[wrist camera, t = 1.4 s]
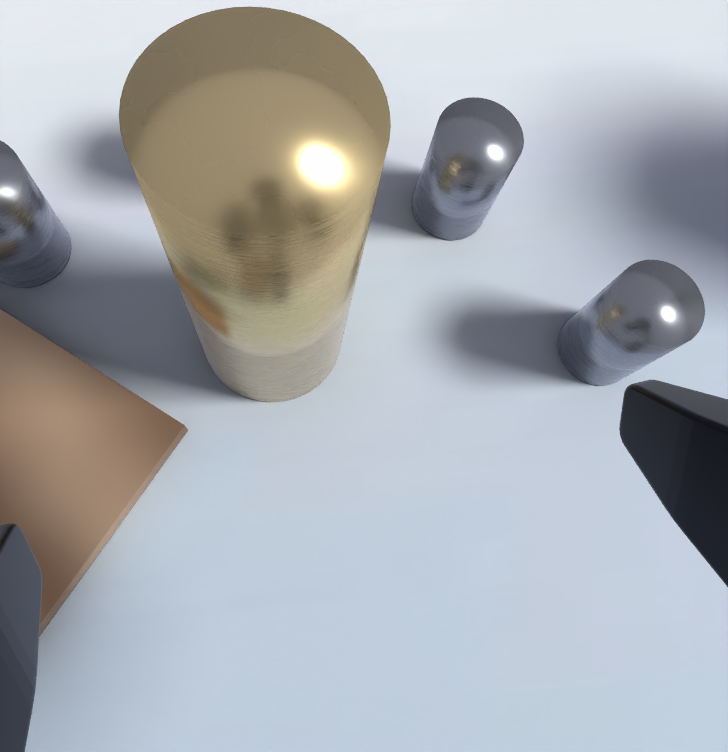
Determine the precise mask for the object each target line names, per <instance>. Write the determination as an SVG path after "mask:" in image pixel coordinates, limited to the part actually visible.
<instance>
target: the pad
mask: <svg viewBox="0 0 728 752" xmlns="http://www.w3.org/2000/svg"><path fill="white" fill-rule="evenodd" d="M187 431H188V430H187V428H186V427H185V425H183V424H182V423H180V422H178V421H177V420H175V419H174V418H172V417H171V416H169V415H167V414H166V413H164V412H163V411H161V410H159V409H158V408H156V407H155V406H153V405H152V404H150V403H148V402H147V401H145V400H144V399H142V398H140V397H139V396H137V395H136V394H134V393H133V392H131V391H129V390H128V389H126V388H125V387H123V386H121V385H120V384H118V383H117V382H115V381H114V380H112V379H110V378H109V377H107V376H106V375H104V374H102V373H101V372H99V371H98V370H96V369H95V368H93V367H91V366H90V365H88V364H87V363H85V362H84V361H82V360H80V359H79V358H77V357H76V356H74V355H72V354H71V353H69V352H68V351H66V350H65V349H63V348H61V347H60V346H58V345H57V344H55V343H53V342H52V341H50V340H49V339H47V338H46V337H44V336H42V335H41V334H39V333H38V332H36V331H34V330H33V329H31V328H30V327H28V326H27V325H25V324H23V323H22V322H20V321H19V320H17V319H15V318H14V317H12V316H11V315H9V314H8V313H6V312H4V311H3V310H1V309H0V525H4V524H9V523H14V524H16V525H18V526H19V527H20V528H21V529H22V531H23V533H24V535H25V537H26V539H27V542H28V544H29V546H30V548H31V550H32V552H33V554H34V556H35V558H36V561H37V563H38V565H39V567H40V571H41V576H42V594H41V611H40V628H39V636H40V635H41V633H42V632H43V631H44V629H45V628H46V626H47V625H48V624H49V622H50V621H51V619H52V618H53V617H54V615H55V614H56V613H57V611H58V610H59V608H60V607H61V606H62V604H63V603H64V601H65V600H66V599H67V597H68V596H69V595H70V593H71V592H72V590H73V589H74V588H75V586H76V585H77V583H78V582H79V581H80V579H81V578H82V576H83V575H84V574H85V572H86V571H87V570H88V568H89V567H90V565H91V564H92V563H93V561H94V560H95V558H96V557H97V556H98V554H99V553H100V552H101V550H102V549H103V547H104V546H105V545H106V543H107V542H108V540H109V539H110V538H111V536H112V535H113V534H114V532H115V531H116V529H117V528H118V527H119V525H120V524H121V522H122V521H123V520H124V518H125V517H126V515H127V514H128V513H129V511H130V510H131V509H132V507H133V506H134V504H135V503H136V502H137V500H138V499H139V497H140V496H141V495H142V493H143V492H144V491H145V489H146V488H147V486H148V485H149V484H150V482H151V481H152V479H153V478H154V477H155V475H156V474H157V473H158V471H159V470H160V468H161V467H162V466H163V464H164V463H165V461H166V460H167V459H168V457H169V456H170V455H171V453H172V452H173V450H174V449H175V448H176V446H177V445H178V443H179V442H180V441H181V439H182V438H183V436H184V435H185V434H186V432H187Z"/></svg>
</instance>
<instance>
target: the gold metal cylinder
mask: <svg viewBox="0 0 728 752" xmlns="http://www.w3.org/2000/svg"><path fill="white" fill-rule="evenodd" d="M119 120H120V131H121V135H122V139H123V143H124V147H125V149H126V152H127V154H128V157H129V159H130V162H131V165H132V167H133V170H134V172H135V175H136V177H137V180H138V183H139V185H140V188H141V190H142V193H143V195H144V198H145V201H146V203H147V206H148V208H149V211H150V213H151V216H152V219H153V221H154V224H155V226H156V229H157V231H158V234H159V237H160V239H161V242H162V244H163V247H164V250H165V252H166V255H167V257H168V260H169V262H170V265H171V268H172V270H173V273H174V275H175V278H176V280H177V283H178V286H179V288H180V291H181V293H182V296H183V298H184V301H185V304H186V306H187V309H188V311H189V314H190V316H191V319H192V322H193V324H194V327H195V329H196V332H197V335H198V337H199V340H200V342H201V345H202V347H203V350H204V353H205V355H206V358H207V360H208V362H209V365H210V367H211V368H212V370H213V372H214V373H215V374H216V376H217V377H218V378H219V379H220V380H221V381H222V382H223V383H224V384H225V385H226V386H227V387H229V388H230V389H231V390H233V391H234V392H236V393H238V394H240V395H242V396H245V397H247V398H250V399H254V400H258V401H265V402H280V401H287V400H291V399H294V398H297V397H300V396H302V395H304V394H306V393H308V392H310V391H311V390H313V389H314V388H315V387H317V386H318V385H319V384H320V383H321V382H322V381H323V380H324V379H325V378H326V377H327V376H328V374H329V373H330V372H331V370H332V368H333V367H334V365H335V363H336V360H337V358H338V355H339V350H340V346H341V342H342V338H343V334H344V329H345V325H346V321H347V317H348V312H349V308H350V304H351V300H352V296H353V291H354V287H355V283H356V279H357V274H358V270H359V266H360V262H361V257H362V253H363V249H364V245H365V241H366V236H367V232H368V228H369V224H370V219H371V215H372V211H373V207H374V202H375V198H376V194H377V190H378V186H379V181H380V177H381V173H382V169H383V164H384V160H385V156H386V152H387V147H388V143H389V137H390V126H391V125H390V111H389V106H388V102H387V97H386V94H385V92H384V89H383V87H382V84H381V82H380V80H379V78H378V76H377V75H376V73H375V71H374V69H373V68H372V67H371V65H370V64H369V63H368V61H367V60H366V58H365V57H364V56H363V55H362V54H361V53H360V52H359V51H358V50H357V49H356V48H355V47H354V46H353V45H352V44H351V43H349V42H348V41H347V40H346V39H345V38H343V37H342V36H341V35H339V34H338V33H336V32H334V31H333V30H331V29H330V28H328V27H326V26H324V25H322V24H320V23H318V22H316V21H314V20H312V19H309V18H307V17H304V16H301V15H298V14H295V13H291V12H287V11H284V10H278V9H271V8H262V7H234V8H227V9H220V10H215V11H211V12H207V13H204V14H200V15H198V16H195V17H192V18H190V19H187V20H185V21H183V22H181V23H179V24H177V25H176V26H174V27H172V28H170V29H169V30H167V31H166V32H165V33H163V34H162V35H160V36H159V37H158V38H157V39H156V40H154V41H153V42H152V43H151V44H150V45H149V46H148V47H147V48H146V49H145V50H144V52H143V53H142V54H141V55H140V56H139V58H138V59H137V60H136V62H135V64H134V65H133V67H132V69H131V70H130V72H129V74H128V77H127V79H126V81H125V84H124V87H123V91H122V95H121V99H120V110H119Z"/></svg>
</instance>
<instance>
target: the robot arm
mask: <svg viewBox="0 0 728 752" xmlns="http://www.w3.org/2000/svg"><path fill="white" fill-rule="evenodd" d="M620 436H621V439H622V442H623V444H624V445H625V447H626V449H627V450H628V452H629V453H630V455H631V456H632V458H633V459H634V461H635V462H636V464H637V465H638V467H639V468H640V470H641V471H642V473H643V475H644V476H645V478H646V479H647V481H648V482H649V484H650V485H651V487H652V488H653V490H654V491H655V493H656V494H657V496H658V497H659V499H660V501H661V502H662V504H663V505H664V507H665V508H666V510H667V511H668V512H669V514H670V515H671V517H672V518H673V520H674V521H675V522H676V523H677V525H678V526H679V527H680V529H681V530H682V531H683V533H684V534H685V535H686V536H687V537H688V539H689V540H690V541H691V542H692V544H693V545H694V546H695V547H696V549H697V550H698V551H699V552H700V553H701V555H702V556H703V557H704V558H705V560H706V561H707V562H708V563H709V565H710V566H711V567H712V568H713V569H714V571H715V572H716V573H717V574H718V576H719V577H720V578H721V579H722V581H723V582H724V583H725V584H726V586H727V587H728V399H724V398H720V397H716V396H713V395H709V394H705V393H702V392H698V391H694V390H690V389H687V388H683V387H679V386H676V385H672V384H668V383H665V382H661V381H657V380H648V381H643V382H639V383H634V384H631V385H629V386H628V387H627V388H626V390H625V393H624V398H623V406H622V413H621V420H620ZM41 594H42V576H41V571H40V567H39V565H38V563H37V561H36V558H35V556H34V554H33V552H32V550H31V548H30V546H29V544H28V542H27V539H26V537H25V535H24V533H23V531H22V529H21V528H20V527H19V526H18V525H16V524H14V523H9V524H4V525H0V752H25V746H26V741H27V735H28V730H29V725H30V719H31V714H32V708H33V701H34V695H35V687H36V676H37V661H38V644H39V628H40V611H41Z"/></svg>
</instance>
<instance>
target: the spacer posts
mask: <svg viewBox="0 0 728 752" xmlns="http://www.w3.org/2000/svg"><path fill="white" fill-rule="evenodd" d="M523 144H524V138H523V132H522V129H521V126H520V124H519V123H518V121H517V119H516V118H515V117H514V115H513V114H512V113H511V112H510V111H509V110H507V109H506V108H505V107H503V106H502V105H500V104H498V103H496V102H494V101H491V100H488V99H484V98H465V99H461V100H458V101H456V102H454V103H452V104H451V105H449V106H448V107H447V108H446V109H445V110H444V111H443V112H442V114H441V116H440V118H439V120H438V123H437V126H436V129H435V132H434V135H433V138H432V141H431V144H430V147H429V150H428V153H427V156H426V159H425V162H424V165H423V168H422V171H421V174H420V177H419V180H418V183H417V186H416V188H415V191H414V194H413V198H412V209H413V213H414V216H415V218H416V220H417V222H418V223H419V224H420V226H421V227H422V228H423V229H424V230H426V231H427V232H428V233H430V234H431V235H433V236H435V237H438V238H441V239H445V240H459V239H463V238H466V237H468V236H470V235H472V234H473V233H474V232H476V231H477V230H478V228H479V227H480V226H481V224H482V222H483V220H484V219H485V217H486V215H487V213H488V211H489V210H490V208H491V206H492V204H493V203H494V201H495V199H496V197H497V195H498V194H499V192H500V190H501V188H502V187H503V185H504V183H505V181H506V179H507V178H508V176H509V174H510V172H511V171H512V169H513V167H514V165H515V163H516V162H517V160H518V158H519V156H520V154H521V152H522V149H523ZM70 254H71V241H70V237H69V234H68V232H67V231H66V229H65V228H64V226H63V224H62V223H61V221H60V220H59V218H58V217H57V215H56V214H55V212H54V211H53V209H52V208H51V206H50V205H49V203H48V202H47V200H46V199H45V197H44V196H43V194H42V193H41V191H40V189H39V188H38V186H37V185H36V183H35V182H34V180H33V179H32V177H31V176H30V174H29V173H28V171H27V170H26V168H25V167H24V165H23V164H22V162H21V161H20V159H19V158H18V156H17V154H16V153H15V152H14V151H13V150H12V149H11V148H10V147H9V146H8V145H7V144H5V143H4V142H2V141H0V281H1V282H3V283H5V284H8V285H11V286H15V287H33V286H37V285H41V284H43V283H46V282H48V281H50V280H51V279H53V278H54V277H56V276H57V275H58V274H59V273H60V272H61V271H62V270H63V269H64V267H65V266H66V264H67V262H68V260H69V258H70ZM704 315H705V308H704V301H703V298H702V295H701V293H700V291H699V289H698V287H697V285H696V284H695V282H694V281H693V280H692V279H691V278H690V277H689V276H688V275H687V274H686V273H685V272H684V271H683V270H681V269H680V268H678V267H676V266H674V265H672V264H670V263H667V262H664V261H659V260H644V261H640V262H637V263H635V264H633V265H631V266H630V267H628V268H627V269H626V270H625V271H624V272H623V273H621V274H620V275H619V276H618V277H617V278H616V279H615V280H613V281H612V282H611V283H610V284H609V285H608V286H607V287H606V288H604V289H603V290H602V291H601V292H600V293H599V294H598V295H596V296H595V297H594V298H593V299H592V300H591V301H590V302H589V303H587V304H586V305H585V306H584V307H583V308H582V309H581V310H579V311H578V312H577V313H576V314H575V315H574V316H573V317H572V318H570V319H569V320H568V321H567V322H566V323H565V324H564V326H563V328H562V329H561V332H560V335H559V340H558V347H559V353H560V356H561V359H562V361H563V363H564V365H565V366H566V367H567V369H568V370H569V371H570V372H571V373H572V374H573V375H574V376H575V377H577V378H578V379H580V380H581V381H583V382H586V383H588V384H592V385H598V386H604V385H610V384H613V383H615V382H617V381H619V380H621V379H623V378H624V377H626V376H628V375H630V374H632V373H633V372H635V371H637V370H639V369H640V368H642V367H644V366H646V365H647V364H649V363H651V362H653V361H655V360H656V359H658V358H660V357H662V356H663V355H665V354H667V353H669V352H670V351H672V350H674V349H676V348H678V347H679V346H681V345H683V344H685V343H686V342H688V341H690V340H691V339H692V338H693V337H695V336H696V334H697V333H698V332H699V330H700V329H701V327H702V324H703V321H704Z"/></svg>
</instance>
